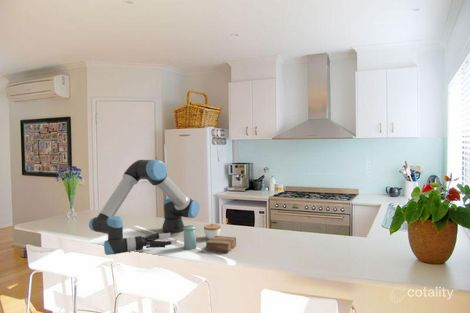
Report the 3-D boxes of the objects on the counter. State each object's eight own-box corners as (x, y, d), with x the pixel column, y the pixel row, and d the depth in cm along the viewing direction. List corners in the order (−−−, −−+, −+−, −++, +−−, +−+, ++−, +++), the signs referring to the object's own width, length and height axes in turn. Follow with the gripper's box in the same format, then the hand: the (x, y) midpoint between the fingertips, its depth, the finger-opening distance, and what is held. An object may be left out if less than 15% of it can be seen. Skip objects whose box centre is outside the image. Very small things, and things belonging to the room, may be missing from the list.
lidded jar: (210, 241, 211) (209, 226, 210) (201, 238, 220) (200, 223, 219) (224, 238, 217) (224, 223, 217) (215, 234, 226) (214, 220, 225)
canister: (187, 245, 205) (186, 225, 205) (199, 246, 203) (198, 225, 202) (181, 249, 198) (180, 228, 197) (193, 250, 196) (192, 229, 195)
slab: (215, 244, 206) (215, 235, 206) (236, 245, 202) (235, 237, 202) (206, 250, 194) (206, 242, 194) (228, 253, 190) (227, 244, 189)
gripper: (131, 244, 198) (168, 239, 207) (139, 257, 176) (179, 251, 185) (131, 231, 198) (167, 226, 207) (138, 243, 175) (179, 237, 184)
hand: (173, 238), depth 196 cm, fingers open, 13 cm apart
